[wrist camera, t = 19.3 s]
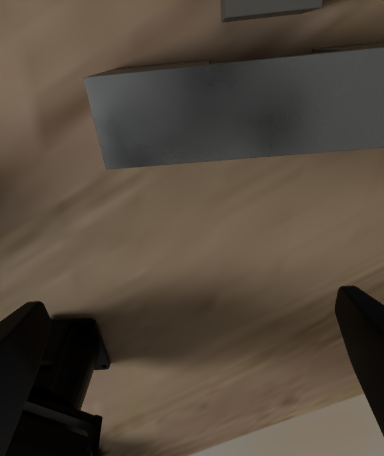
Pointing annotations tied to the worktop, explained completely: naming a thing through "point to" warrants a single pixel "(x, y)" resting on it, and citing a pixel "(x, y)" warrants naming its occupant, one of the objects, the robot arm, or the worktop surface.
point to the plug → (264, 8)
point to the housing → (240, 107)
